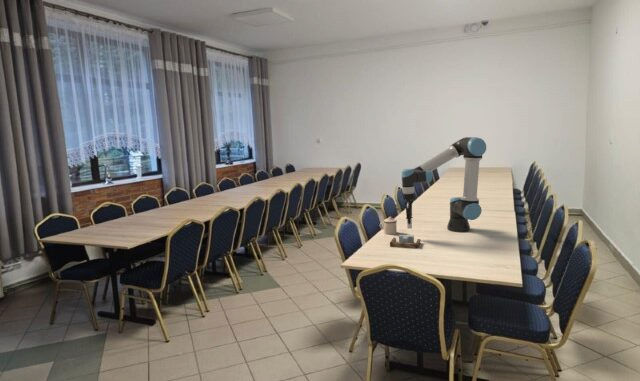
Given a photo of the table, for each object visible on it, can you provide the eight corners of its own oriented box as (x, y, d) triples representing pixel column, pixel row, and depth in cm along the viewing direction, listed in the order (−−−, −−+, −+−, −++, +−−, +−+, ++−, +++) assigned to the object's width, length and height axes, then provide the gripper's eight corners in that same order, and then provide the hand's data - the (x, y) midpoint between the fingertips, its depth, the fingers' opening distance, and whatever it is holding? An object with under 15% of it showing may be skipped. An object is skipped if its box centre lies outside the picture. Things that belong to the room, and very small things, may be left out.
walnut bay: (420, 242, 254) (420, 239, 254) (417, 248, 243) (417, 244, 243) (393, 241, 260) (393, 237, 260) (390, 246, 249) (389, 242, 249)
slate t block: (413, 242, 256) (413, 235, 255) (412, 245, 249) (412, 238, 248) (399, 241, 259) (399, 234, 259) (397, 244, 252) (397, 238, 251)
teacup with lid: (398, 231, 283) (398, 215, 281) (395, 235, 275) (394, 218, 273) (381, 230, 288) (381, 214, 286) (378, 233, 280) (377, 217, 278)
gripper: (404, 191, 267) (405, 225, 271) (400, 194, 255) (402, 230, 259) (415, 191, 265) (416, 225, 268) (412, 194, 253) (414, 231, 256)
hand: (409, 228), depth 264 cm, fingers closed
